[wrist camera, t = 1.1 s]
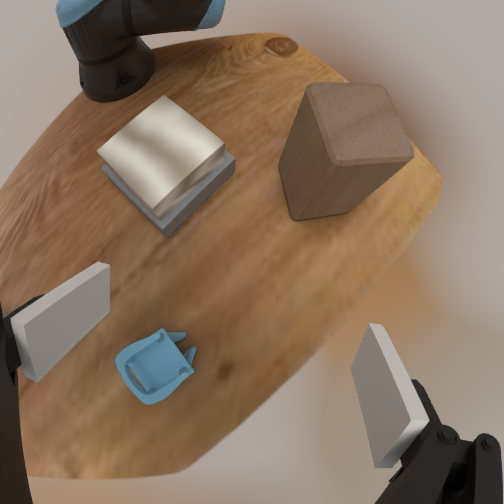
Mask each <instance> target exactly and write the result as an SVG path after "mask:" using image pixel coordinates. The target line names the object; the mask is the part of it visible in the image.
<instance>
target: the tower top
mask: <svg viewBox="0 0 504 504" xmlns="http://www.w3.org/2000/svg"><path fill="white" fill-rule="evenodd" d="M97 152H98V153H99V155H100V156H101V158H102V159H103V160H104V162H105V163H106V164H107V166H108V167H109V168H110V169H111V170H112V171H113V172H114V173H115V174H116V175H117V177H118V178H119V179H120V180H121V181H122V182H123V183H124V184H125V185H126V186H127V187H128V188H129V189H130V190H131V191H132V192H133V193H134V194H135V195H136V196H137V197H138V198H139V199H140V201H141V202H142V203H143V204H144V205H145V206H146V207H147V208H148V209H149V210H150V211H151V212H152V213H153V214H154V215H155V216H156V217H157V218H158V219H159V220H160V221H161V220H162V219H163V218H164V217H165V216H166V215H167V214H168V213H169V212H170V211H171V210H172V209H173V208H174V207H175V206H176V205H177V204H178V203H179V202H180V201H181V200H183V199H184V198H185V197H186V196H187V195H188V194H189V193H190V192H191V191H192V190H193V189H194V188H195V187H196V186H197V185H199V184H200V183H201V182H202V181H203V180H204V179H205V178H206V177H207V176H208V175H209V174H211V173H212V172H213V171H214V170H215V169H216V168H217V167H218V166H219V165H221V164H222V163H223V162H224V161H225V143H224V142H223V141H222V140H220V139H219V138H218V137H217V136H216V135H214V134H213V133H212V132H211V131H210V130H208V129H207V128H206V127H205V126H203V125H202V124H201V123H200V122H198V121H197V120H196V119H195V118H193V117H192V116H191V115H190V114H188V113H187V112H186V111H184V110H183V109H182V108H181V107H179V106H178V105H177V104H175V103H174V102H173V101H172V100H170V99H169V98H168V97H166V96H165V95H163V96H162V97H161V98H159V99H158V100H157V101H155V102H154V103H153V104H151V105H150V106H149V107H148V108H146V109H145V110H144V111H143V112H141V113H140V114H139V115H138V116H136V117H135V118H134V119H133V120H131V121H130V122H129V123H128V124H127V125H126V126H124V127H123V128H122V129H121V130H120V131H119V132H117V133H116V134H115V135H114V136H113V137H112V138H111V139H109V140H108V141H107V142H106V143H105V144H104V145H103V146H102V147H101V148H100V149H98V150H97Z"/></svg>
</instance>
